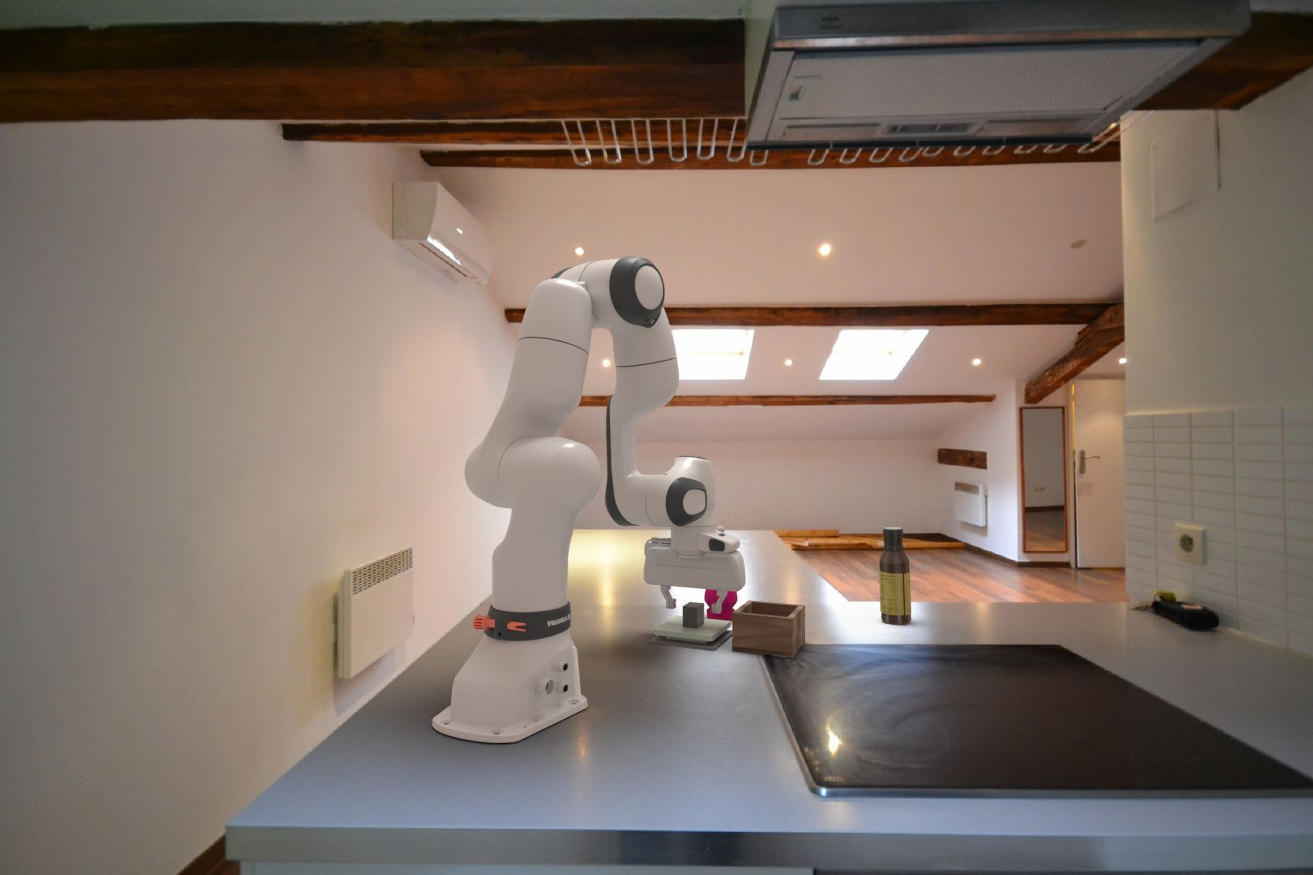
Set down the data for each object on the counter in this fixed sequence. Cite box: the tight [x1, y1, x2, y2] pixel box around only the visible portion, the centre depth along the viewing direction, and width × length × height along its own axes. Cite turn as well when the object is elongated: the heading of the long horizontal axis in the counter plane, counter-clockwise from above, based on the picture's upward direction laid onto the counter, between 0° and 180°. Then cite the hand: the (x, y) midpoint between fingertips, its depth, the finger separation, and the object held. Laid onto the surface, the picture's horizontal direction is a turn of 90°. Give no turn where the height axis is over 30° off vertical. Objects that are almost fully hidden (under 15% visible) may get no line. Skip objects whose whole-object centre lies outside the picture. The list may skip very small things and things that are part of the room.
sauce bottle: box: [878, 526, 912, 626], centre depth 149 cm, size 6×6×20 cm
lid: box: [653, 601, 732, 643], centre depth 137 cm, size 12×12×6 cm
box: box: [731, 600, 806, 658], centre depth 131 cm, size 11×11×7 cm
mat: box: [649, 629, 732, 652], centre depth 137 cm, size 13×13×1 cm
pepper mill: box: [703, 525, 739, 622], centre depth 152 cm, size 7×7×20 cm
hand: (693, 610), depth 137 cm, fingers open, 8 cm apart
